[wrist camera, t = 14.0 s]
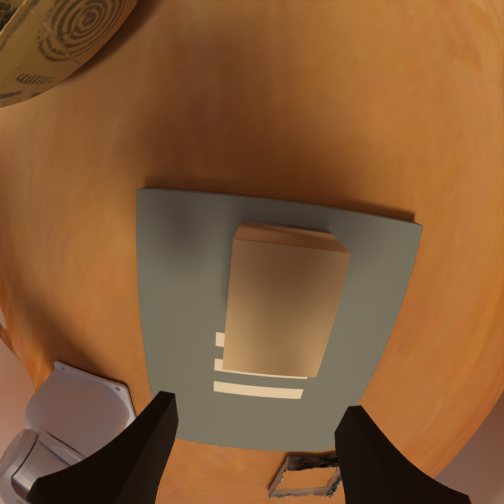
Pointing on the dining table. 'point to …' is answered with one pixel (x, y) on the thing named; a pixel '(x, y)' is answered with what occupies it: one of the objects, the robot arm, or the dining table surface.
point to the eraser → (282, 298)
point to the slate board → (215, 309)
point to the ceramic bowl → (51, 41)
